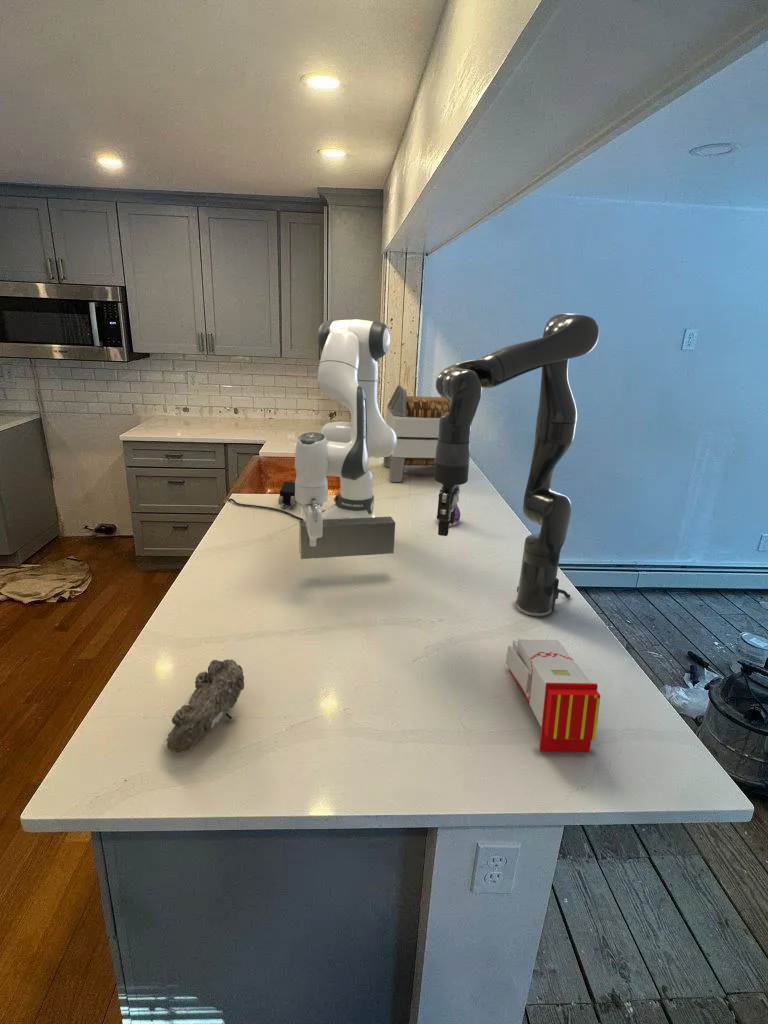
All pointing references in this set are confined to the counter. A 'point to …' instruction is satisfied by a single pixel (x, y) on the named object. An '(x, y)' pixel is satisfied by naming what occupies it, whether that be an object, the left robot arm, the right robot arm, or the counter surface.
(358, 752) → the counter surface
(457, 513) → the figurine
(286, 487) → the figurine character
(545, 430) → the right robot arm
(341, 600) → the counter surface
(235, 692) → the fossil
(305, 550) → the bar
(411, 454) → the transformer
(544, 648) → the toy
